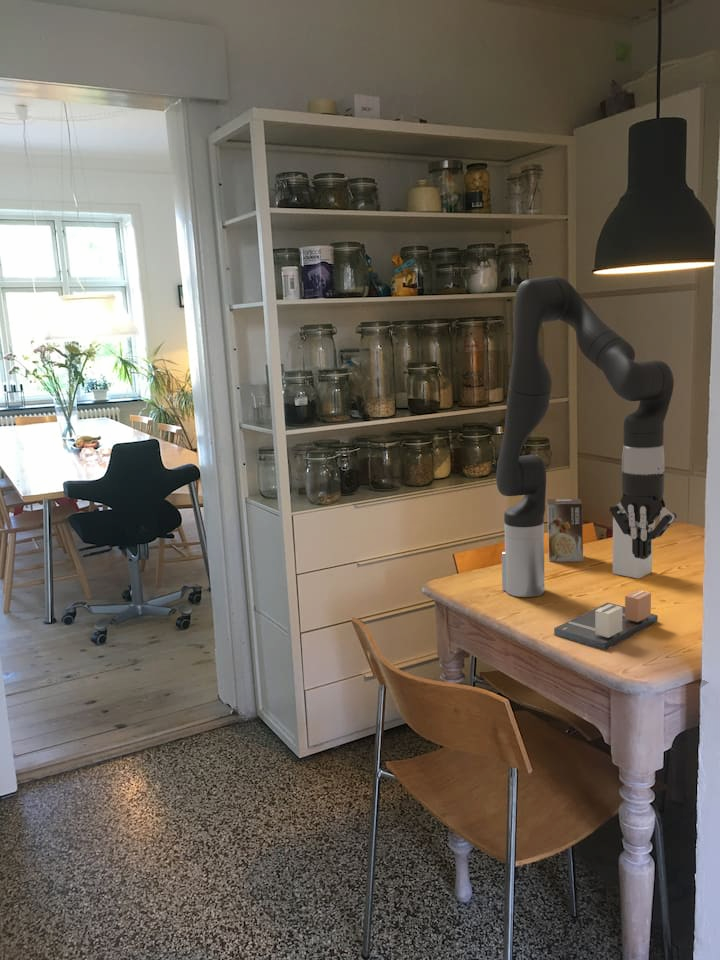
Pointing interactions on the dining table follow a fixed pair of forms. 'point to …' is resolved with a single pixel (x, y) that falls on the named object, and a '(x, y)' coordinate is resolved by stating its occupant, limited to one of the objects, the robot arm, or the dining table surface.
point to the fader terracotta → (638, 605)
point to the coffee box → (565, 530)
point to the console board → (584, 633)
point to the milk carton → (628, 556)
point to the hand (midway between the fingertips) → (641, 557)
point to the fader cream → (608, 620)
